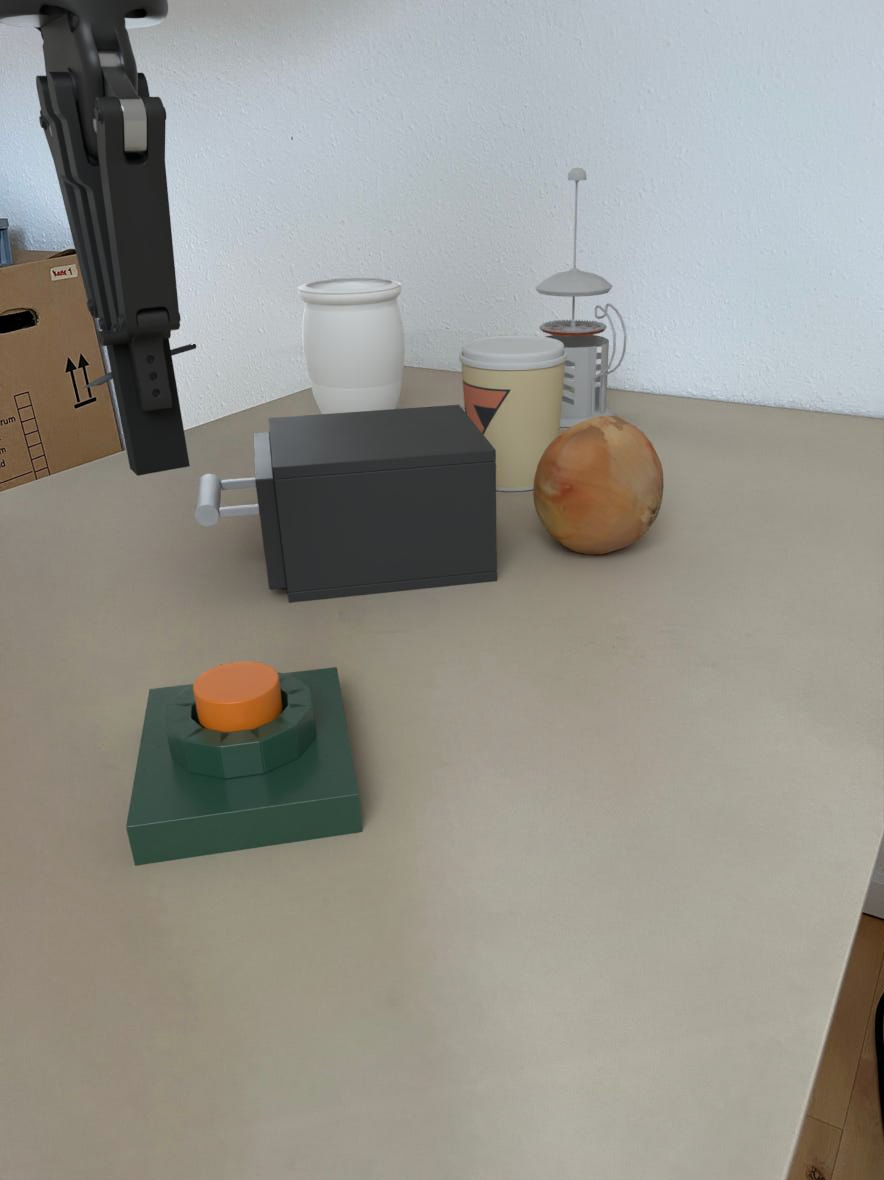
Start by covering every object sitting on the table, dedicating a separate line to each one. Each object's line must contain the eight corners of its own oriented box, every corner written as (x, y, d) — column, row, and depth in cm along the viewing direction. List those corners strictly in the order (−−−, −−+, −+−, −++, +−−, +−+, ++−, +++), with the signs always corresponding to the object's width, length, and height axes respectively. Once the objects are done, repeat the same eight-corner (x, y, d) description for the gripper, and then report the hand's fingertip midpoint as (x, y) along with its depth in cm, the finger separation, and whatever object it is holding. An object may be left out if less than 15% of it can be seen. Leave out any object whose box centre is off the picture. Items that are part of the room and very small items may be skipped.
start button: (200, 696, 48) (194, 665, 48) (281, 686, 49) (277, 656, 48) (196, 739, 45) (190, 707, 44) (284, 728, 46) (279, 696, 45)
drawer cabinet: (288, 603, 66) (272, 467, 62) (282, 537, 77) (268, 417, 73) (497, 581, 69) (495, 449, 64) (462, 520, 80) (459, 404, 75)
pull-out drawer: (204, 596, 65) (186, 485, 62) (209, 536, 75) (194, 437, 72) (463, 570, 69) (460, 463, 65) (435, 515, 78) (431, 419, 75)
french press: (568, 400, 115) (574, 165, 103) (645, 418, 107) (661, 166, 96) (508, 415, 109) (507, 168, 97) (586, 436, 101) (595, 170, 90)
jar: (366, 450, 98) (355, 294, 91) (290, 435, 103) (274, 287, 96) (428, 425, 106) (422, 280, 99) (354, 413, 111) (344, 274, 104)
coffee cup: (447, 470, 92) (443, 340, 86) (536, 457, 95) (537, 330, 89) (487, 500, 84) (485, 359, 78) (582, 485, 87) (586, 348, 82)
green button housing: (156, 723, 53) (143, 659, 51) (340, 700, 55) (333, 637, 53) (134, 866, 43) (117, 792, 41) (362, 833, 44) (355, 760, 43)
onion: (558, 518, 80) (561, 396, 75) (676, 536, 76) (687, 408, 71) (509, 560, 72) (509, 427, 68) (638, 582, 68) (647, 443, 64)
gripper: (-59, -69, 43) (59, 451, 54) (-17, -137, 33) (117, 517, 44) (114, -57, 47) (192, 429, 57) (198, -115, 37) (274, 486, 47)
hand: (159, 467), depth 51 cm, fingers closed
